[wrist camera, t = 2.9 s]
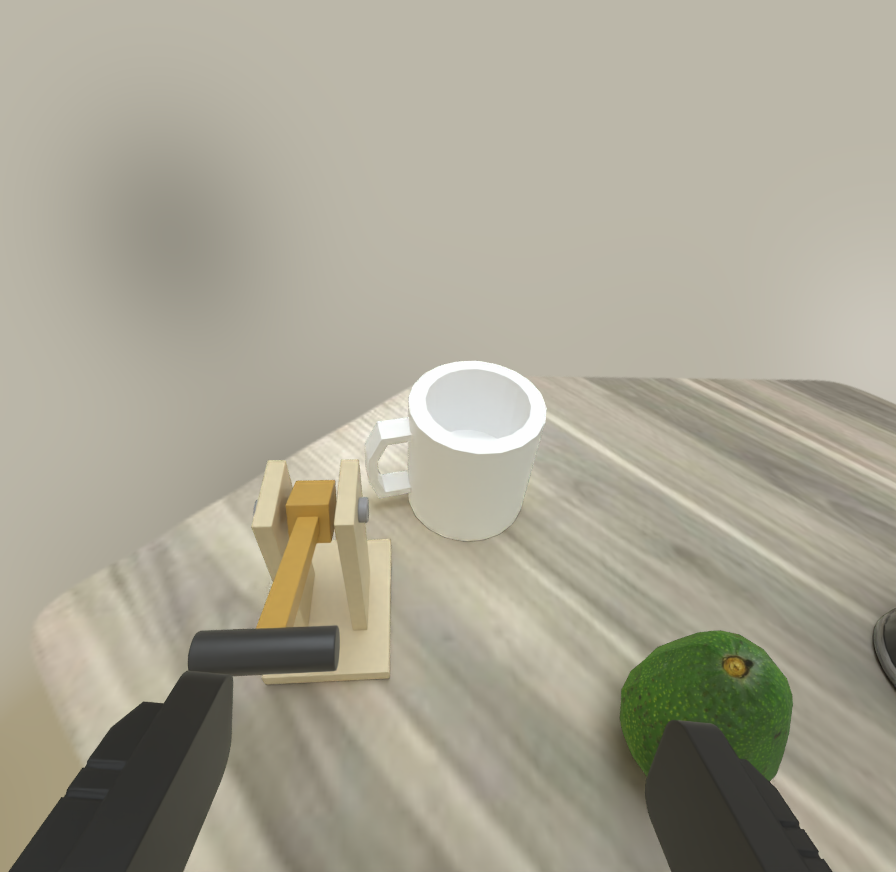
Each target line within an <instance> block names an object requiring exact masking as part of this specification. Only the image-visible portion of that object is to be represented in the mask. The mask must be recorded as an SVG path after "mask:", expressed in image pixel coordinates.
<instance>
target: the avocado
mask: <svg viewBox="0 0 896 872" xmlns="http://www.w3.org/2000/svg"><path fill="white" fill-rule="evenodd" d="M792 706H793V701H792V693H791V690H790V687H789V684H788V681H787V678H786V677H785V676H784V675H783V673H782V672H781V671H780V670H779V668H778V667H777V666H776V664H775V663H774V662H773V661H772V659H771V658H770V657H769V656H768V654H767V653H766V652H765V651H764V649H762V648H760V647H759V646H757V645H756V644H754V643H752V642H751V641H749V640H747V639H746V638H744V637H743V636H741V635H739V634H734V633H730V632H725V631H708V632H700V633H695V634H693V635H690V636H687V637H684V638H681V639H678V640H675V641H673V642H670V643H667V644H665V645H662V646H659V647H657V648H656V649H655V650H654V651H653V652H652V653H651V654H650V655H649V656H648V657H647V658H646V659H645V660H644V661H642V662H641V663H640V664H639V665H638V666H636V667H635V668H634V669H633V670H631V672H630V674H629V676H628V678H627V680H626V682H625V684H624V686H623V688H622V690H621V707H620V723H621V728H622V731H623V734H624V737H625V740H626V742H627V745H628V747H629V750H630V752H631V755H632V756H633V758H634V759H635V761H636V762H637V764H638V765H639V766H640V768H641V769H642V771H643V772H644V774H645V775H646V776H647V775H648V773H649V770H650V767H651V764H652V762H653V759H654V756H655V754H656V751H657V748H658V746H659V743H660V740H661V738H662V735H663V732H664V730H665V727H666V725H667V723H668V722H669V721H671V720H680V721H691V722H701V723H711V724H714V725H716V726H717V727H718V728H719V729H720V730H721V731H722V733H723V734H724V736H725V737H726V739H727V740H728V742H729V743H730V745H731V746H732V748H733V750H734V751H735V753H736V754H737V756H738V757H739V759H747V760H748V761H749V762H750V763H751V764H752V765H753V766H754V767H755V768H756V769H757V770H758V771H759V772H760V773H761V774H762V775H763V776H764V777H765V778H766V779H767V780H768V781H769V782H770V781H771V780H772V779H773V778H774V777H775V776H776V774H777V771H778V768H779V765H780V763H781V760H782V757H783V754H784V750H785V746H786V743H787V739H788V735H789V730H790V722H791V714H792Z"/></svg>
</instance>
